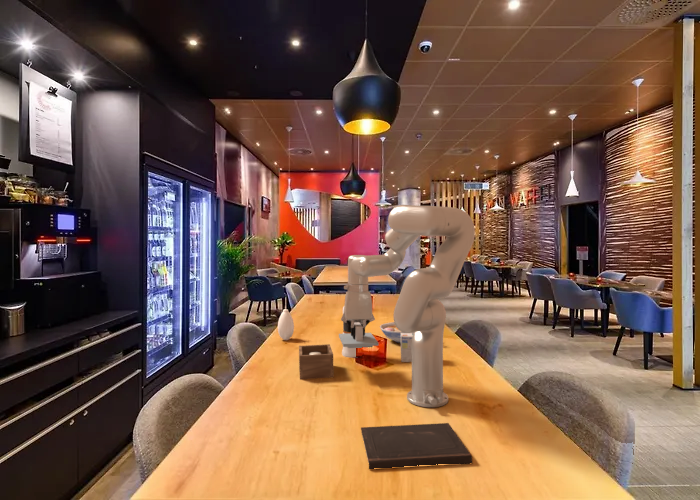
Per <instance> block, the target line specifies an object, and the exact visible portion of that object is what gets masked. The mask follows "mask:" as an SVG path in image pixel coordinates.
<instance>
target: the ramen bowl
mask: <svg viewBox="0 0 700 500" xmlns="http://www.w3.org/2000/svg"><path fill="white" fill-rule="evenodd" d="M379 328H380V330H381V332H382V333H383V334H384V336H385V337H386V338H388V339H390V340H392V341H393V342H396V343H399V344H401V333H404V332H401V331H400V330H399V329H398V328H397V327H396V325H395V323H394V321H393V322H387V323H385V322H384V323H383V324H380V326H379Z"/></svg>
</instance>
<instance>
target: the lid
mask: <svg viewBox="0 0 700 500" xmlns="http://www.w3.org/2000/svg"><path fill="white" fill-rule="evenodd" d="M354 326H355V339H353V337H352V336H351V333H348V334H343V333H338V338H339V340H340V342H341V345H342V348H343V347H348V348H362V347H363V348H373V347H375V346H376V347H377V346H378V347H379V342H378V340H377V339H376V338H375V336H374V335H373V334H372V333H371V332H365V335H364V338H363V327H362V325H361V324H360V323H359V322H354Z"/></svg>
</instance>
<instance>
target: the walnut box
mask: <svg viewBox="0 0 700 500" xmlns="http://www.w3.org/2000/svg"><path fill="white" fill-rule="evenodd" d="M332 350H333V349H332V347H331V345H330V344H329V343H328V344H327V343H326V344H310V345H309V344H308V345H307V344H306V345H299V346H298V366H299V367H298V368H299V369H298V371H299V380H307V379H308V380H309V379H323V378H324V379H325V378H326V379H327V378H328V379H329V378H334V377H335V376H334V353H333V351H332ZM311 352H320V353H321V354H315V355H309V353H311Z"/></svg>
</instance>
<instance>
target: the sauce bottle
mask: <svg viewBox="0 0 700 500" xmlns="http://www.w3.org/2000/svg"><path fill="white" fill-rule="evenodd" d="M294 330H295V325H294V319H293V317H292V315H291V313H290V311H289V309H287V305H286V304H285V305H284V309H283V310H282V312H281V314H280V316H279V318H278V322H277V332H278V335H279V337H280V338H281V339H282V340H284V341H289V340H290V339H291V338H292V337H293V334H294Z"/></svg>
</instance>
